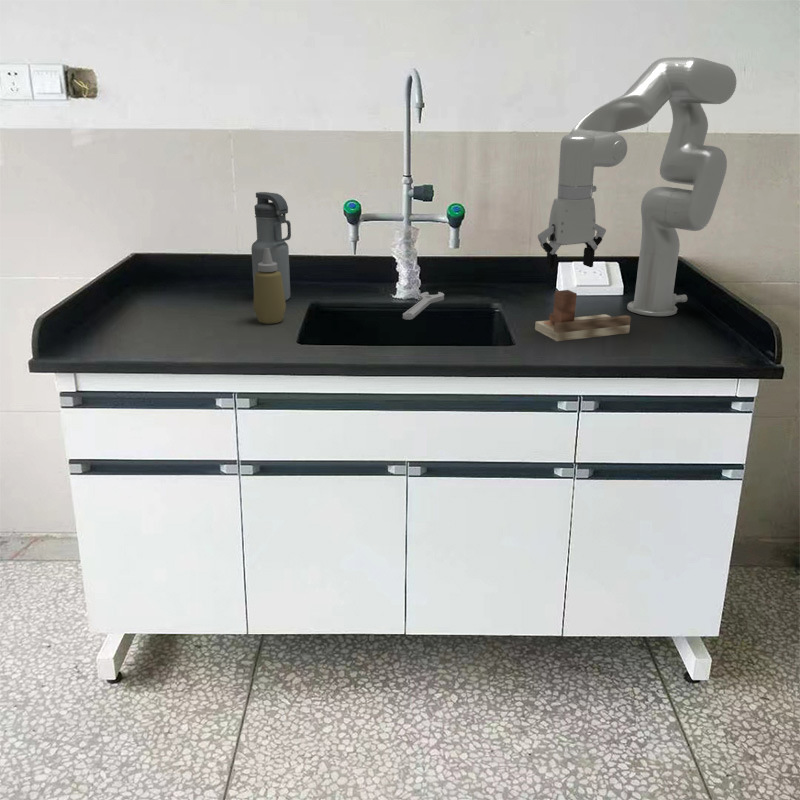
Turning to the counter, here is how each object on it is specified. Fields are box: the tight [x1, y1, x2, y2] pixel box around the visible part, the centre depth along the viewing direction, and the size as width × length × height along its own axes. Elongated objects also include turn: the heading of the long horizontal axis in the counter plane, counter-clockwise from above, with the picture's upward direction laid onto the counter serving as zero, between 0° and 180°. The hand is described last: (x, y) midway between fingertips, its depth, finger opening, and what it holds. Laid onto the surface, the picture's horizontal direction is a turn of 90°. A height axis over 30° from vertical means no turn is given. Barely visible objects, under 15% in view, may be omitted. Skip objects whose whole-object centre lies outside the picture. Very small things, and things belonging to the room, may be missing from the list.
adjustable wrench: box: [402, 291, 445, 320], centre depth 216 cm, size 25×6×2 cm, turn 156°
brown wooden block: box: [548, 289, 577, 325], centre depth 193 cm, size 4×6×8 cm, turn 21°
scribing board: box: [534, 314, 632, 342], centre depth 196 cm, size 20×10×4 cm, turn 111°
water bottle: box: [250, 191, 292, 302], centre depth 217 cm, size 10×10×28 cm
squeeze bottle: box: [252, 248, 287, 325], centre depth 199 cm, size 8×8×18 cm
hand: (569, 268), depth 189 cm, fingers open, 9 cm apart
